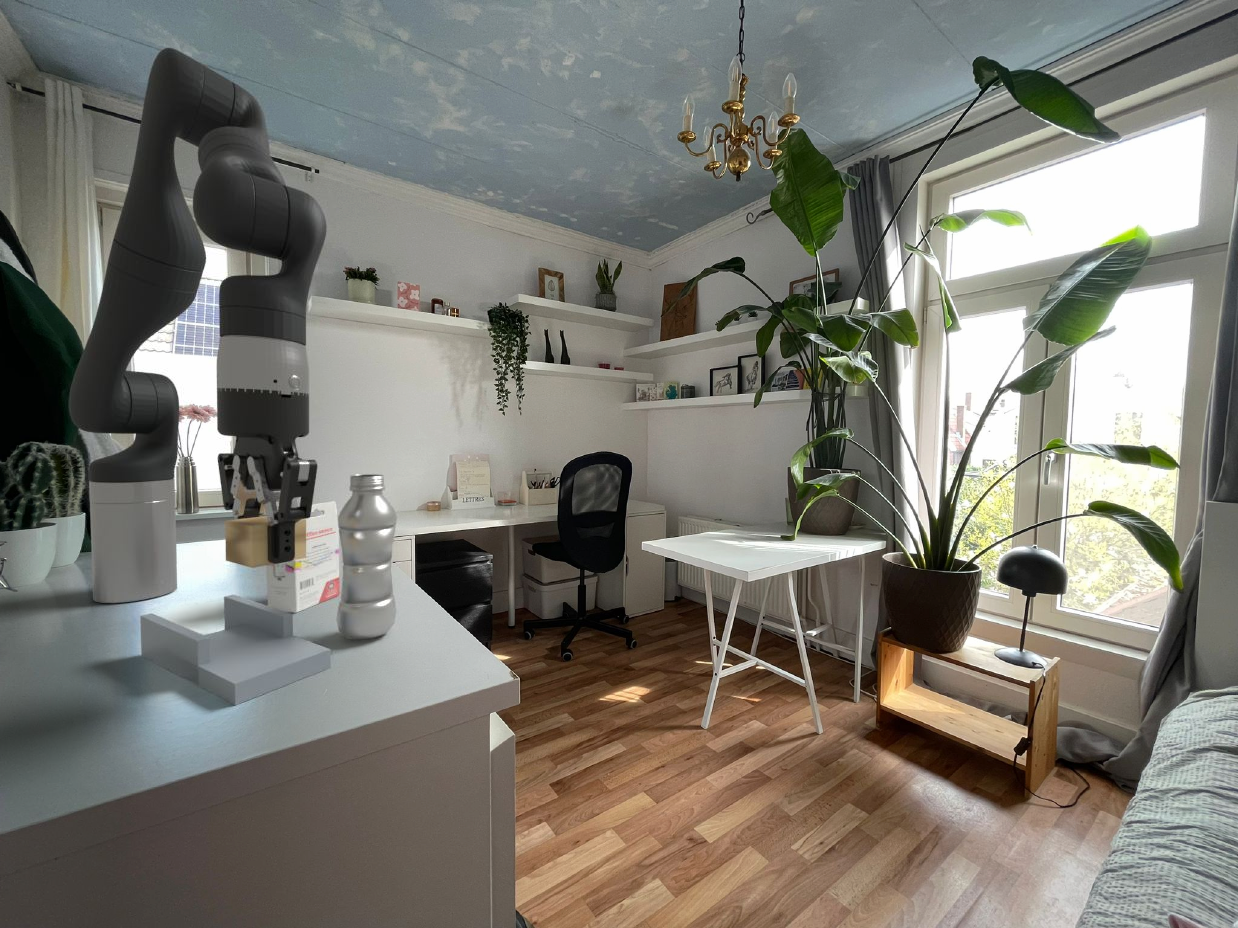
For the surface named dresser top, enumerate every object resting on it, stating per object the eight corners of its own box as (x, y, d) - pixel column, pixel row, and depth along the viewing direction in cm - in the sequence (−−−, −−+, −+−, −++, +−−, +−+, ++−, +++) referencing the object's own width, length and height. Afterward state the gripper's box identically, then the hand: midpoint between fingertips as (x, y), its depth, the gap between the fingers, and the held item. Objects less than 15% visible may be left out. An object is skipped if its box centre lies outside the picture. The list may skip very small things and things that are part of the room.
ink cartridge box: (312, 592, 80) (312, 498, 79) (340, 595, 79) (340, 500, 78) (264, 610, 72) (263, 506, 71) (295, 614, 71) (294, 508, 70)
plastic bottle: (328, 635, 64) (327, 474, 62) (384, 621, 69) (383, 472, 67) (348, 651, 59) (347, 478, 58) (405, 635, 64) (406, 476, 63)
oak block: (225, 560, 51) (225, 520, 51) (279, 551, 55) (279, 514, 55) (252, 567, 49) (252, 526, 48) (306, 557, 53) (306, 519, 53)
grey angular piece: (141, 655, 57) (140, 615, 56) (233, 629, 65) (233, 594, 64) (235, 705, 47) (234, 657, 47) (330, 667, 55) (330, 626, 55)
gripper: (184, 385, 51) (187, 554, 52) (262, 383, 44) (264, 578, 45) (266, 392, 58) (267, 542, 59) (345, 391, 51) (345, 561, 52)
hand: (266, 556), depth 52 cm, fingers closed on oak block, 5 cm apart
